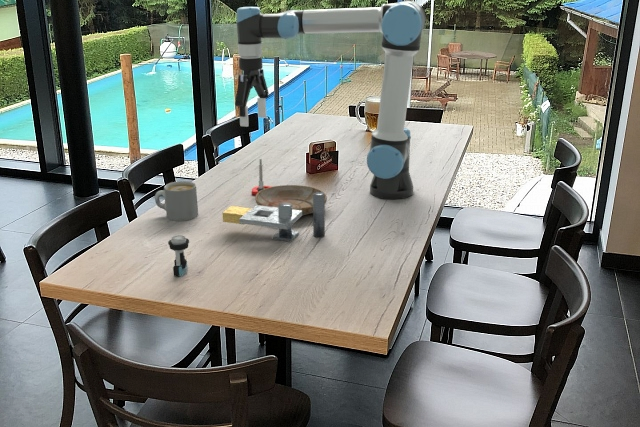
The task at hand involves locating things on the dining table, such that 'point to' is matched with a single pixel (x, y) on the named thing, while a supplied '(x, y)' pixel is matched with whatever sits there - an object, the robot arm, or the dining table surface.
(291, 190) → the ceramic bowl
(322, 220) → the pin
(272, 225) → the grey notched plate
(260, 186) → the tow hook
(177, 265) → the push button
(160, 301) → the dining table surface
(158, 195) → the coffee mug
